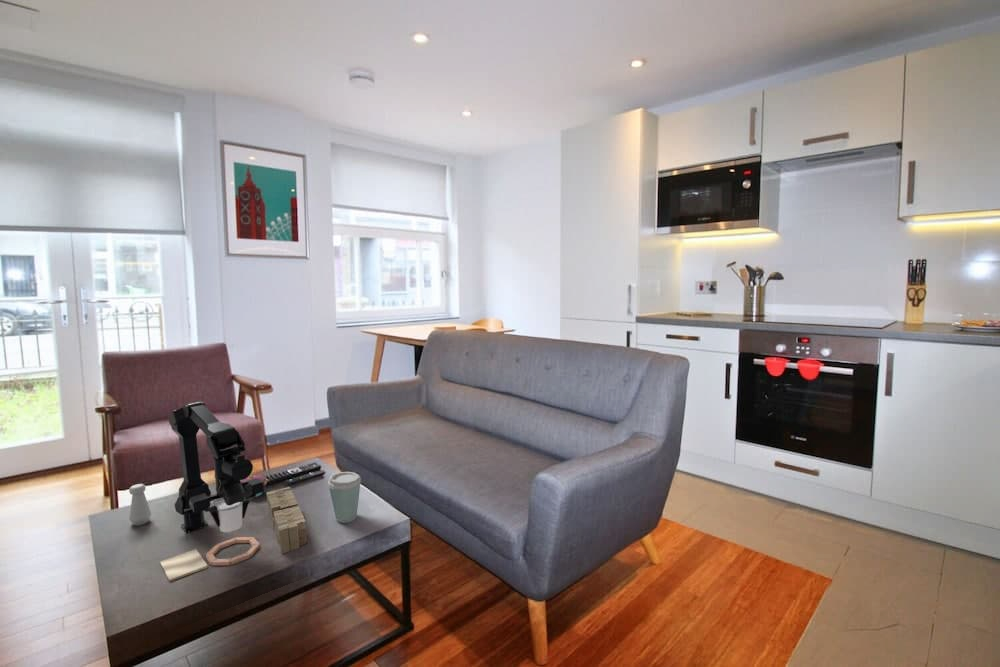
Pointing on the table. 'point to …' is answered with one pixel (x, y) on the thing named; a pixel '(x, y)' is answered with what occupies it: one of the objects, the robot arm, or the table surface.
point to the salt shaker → (139, 505)
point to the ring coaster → (234, 560)
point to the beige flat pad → (183, 565)
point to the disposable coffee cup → (345, 495)
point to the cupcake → (255, 478)
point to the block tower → (286, 519)
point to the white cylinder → (230, 516)
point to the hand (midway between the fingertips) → (230, 522)
